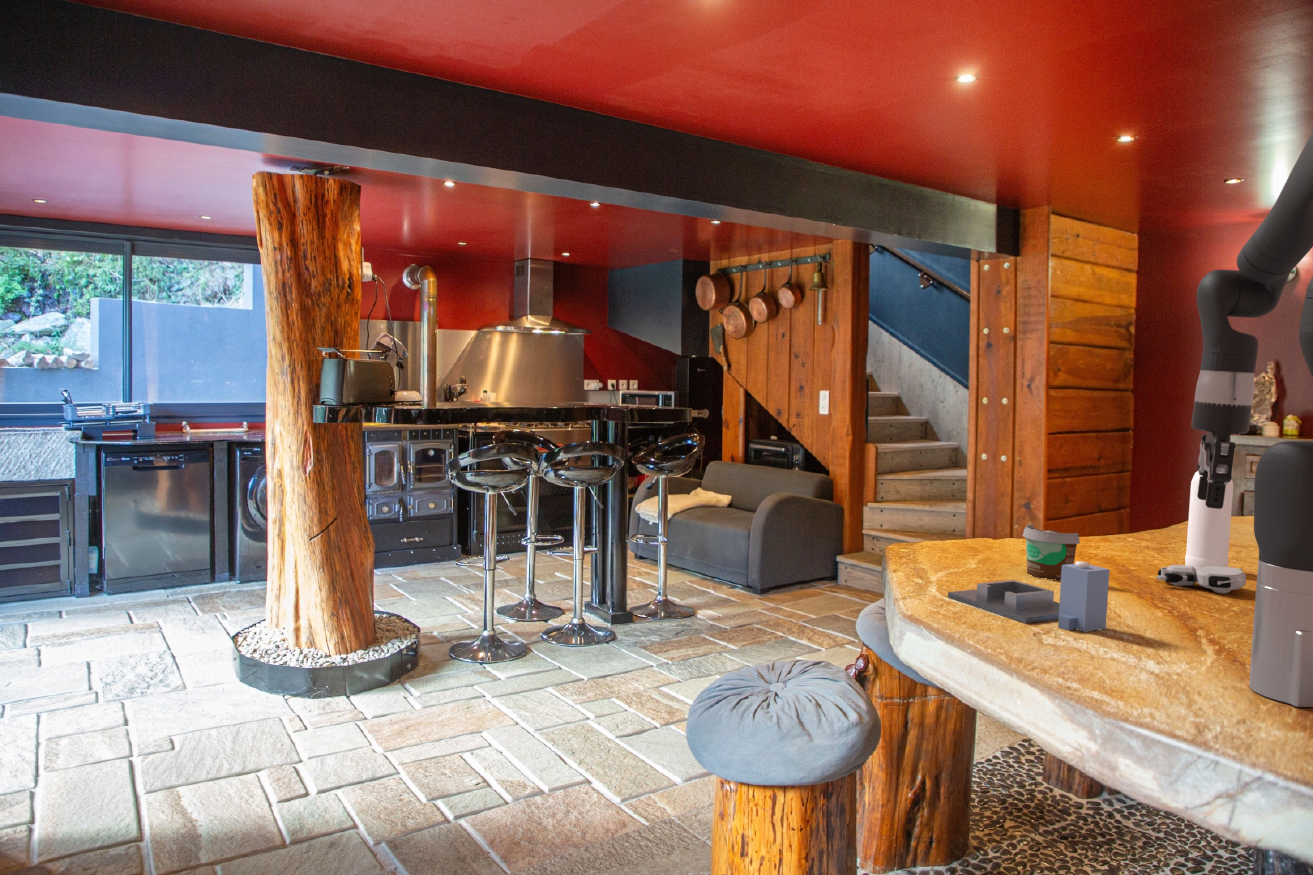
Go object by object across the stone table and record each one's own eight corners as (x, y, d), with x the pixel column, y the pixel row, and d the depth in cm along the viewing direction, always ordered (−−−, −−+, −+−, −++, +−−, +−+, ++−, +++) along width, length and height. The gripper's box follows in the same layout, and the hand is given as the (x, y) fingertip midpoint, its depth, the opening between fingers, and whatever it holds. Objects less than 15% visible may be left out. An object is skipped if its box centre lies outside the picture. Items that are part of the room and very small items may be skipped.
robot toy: (1155, 592, 171) (1246, 599, 162) (1154, 569, 171) (1245, 575, 162) (1160, 581, 181) (1246, 587, 172) (1159, 560, 181) (1245, 565, 172)
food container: (1007, 571, 182) (1010, 525, 181) (1028, 569, 185) (1030, 523, 184) (1056, 584, 171) (1059, 535, 170) (1077, 582, 174) (1080, 533, 173)
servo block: (1105, 629, 139) (1109, 564, 139) (1076, 633, 137) (1080, 567, 136) (1079, 621, 144) (1083, 558, 143) (1050, 624, 141) (1054, 560, 141)
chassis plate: (1084, 616, 147) (1086, 596, 147) (1025, 623, 142) (1026, 603, 141) (1003, 591, 164) (1004, 573, 163) (947, 597, 158) (948, 578, 158)
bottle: (1176, 567, 190) (1185, 434, 188) (1202, 566, 193) (1212, 434, 191) (1208, 575, 183) (1218, 437, 181) (1236, 574, 185) (1246, 437, 183)
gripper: (1261, 405, 124) (1246, 514, 125) (1243, 401, 136) (1229, 500, 138) (1201, 401, 127) (1187, 507, 129) (1188, 397, 139) (1176, 494, 141)
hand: (1209, 503), depth 133 cm, fingers open, 8 cm apart
